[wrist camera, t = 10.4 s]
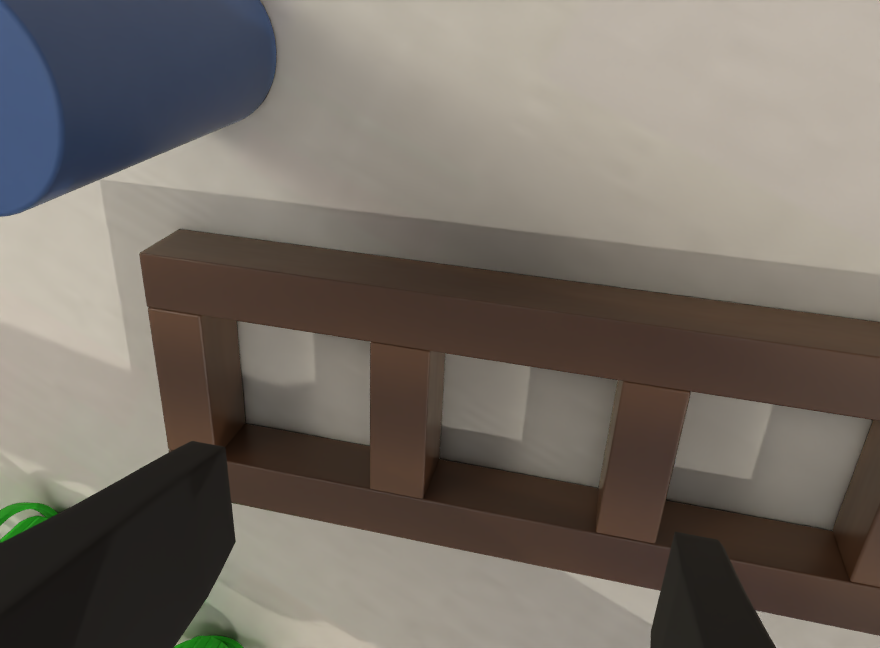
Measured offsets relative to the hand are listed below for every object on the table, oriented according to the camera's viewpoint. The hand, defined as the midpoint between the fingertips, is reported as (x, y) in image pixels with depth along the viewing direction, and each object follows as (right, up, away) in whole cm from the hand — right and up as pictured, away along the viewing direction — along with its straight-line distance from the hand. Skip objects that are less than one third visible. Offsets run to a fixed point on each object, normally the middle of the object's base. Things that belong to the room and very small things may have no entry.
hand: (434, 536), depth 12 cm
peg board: (+3, +1, +10) cm, 10 cm away
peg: (-6, +10, +7) cm, 14 cm away
